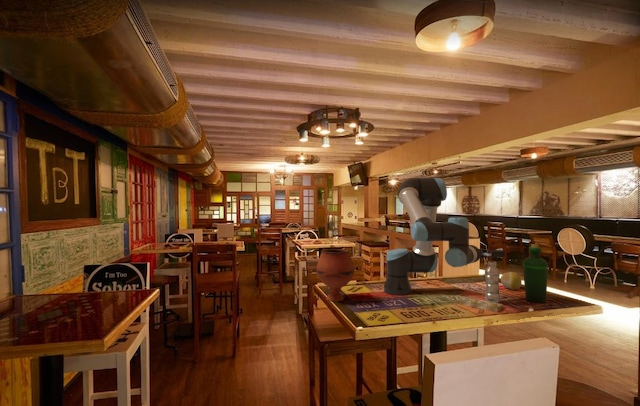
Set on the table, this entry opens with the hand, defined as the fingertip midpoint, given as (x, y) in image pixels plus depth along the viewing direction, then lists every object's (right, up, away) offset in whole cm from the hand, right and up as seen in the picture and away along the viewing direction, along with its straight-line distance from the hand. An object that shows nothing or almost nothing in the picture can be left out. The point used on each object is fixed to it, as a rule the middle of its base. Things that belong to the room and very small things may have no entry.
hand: (485, 250), depth 147 cm
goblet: (-70, -27, +13) cm, 76 cm away
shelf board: (-1, -27, +2) cm, 27 cm away
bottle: (+30, -27, +10) cm, 42 cm away
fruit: (+31, -27, +32) cm, 53 cm away
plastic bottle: (+7, -27, +7) cm, 29 cm away
